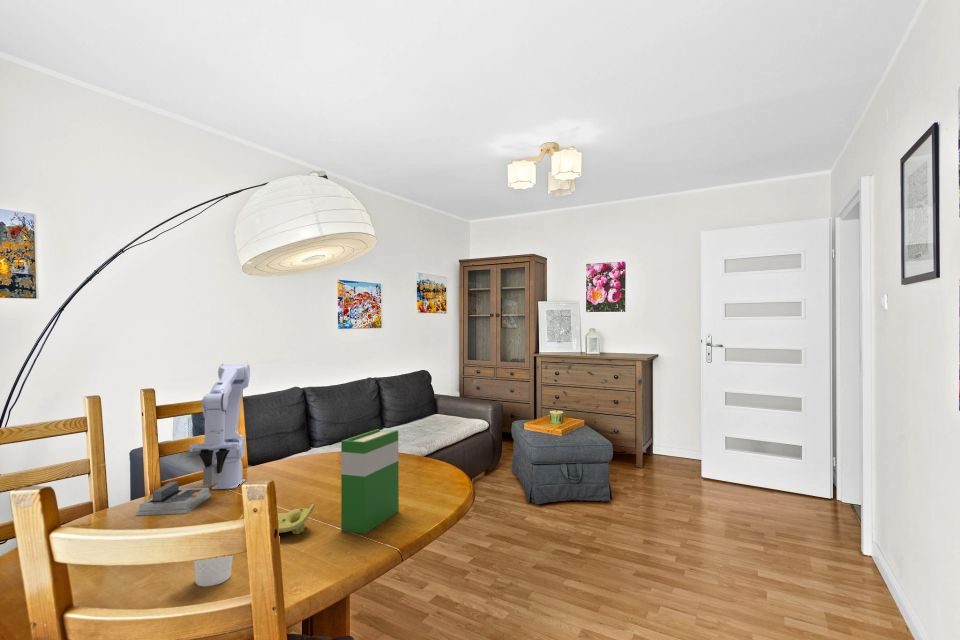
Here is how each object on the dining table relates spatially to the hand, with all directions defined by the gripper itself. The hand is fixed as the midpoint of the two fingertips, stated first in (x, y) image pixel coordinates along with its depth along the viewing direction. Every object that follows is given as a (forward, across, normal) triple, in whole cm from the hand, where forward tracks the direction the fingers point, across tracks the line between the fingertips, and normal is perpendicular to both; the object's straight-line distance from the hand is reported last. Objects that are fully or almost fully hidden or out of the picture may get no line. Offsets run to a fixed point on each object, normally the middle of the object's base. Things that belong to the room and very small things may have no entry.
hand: (214, 472), depth 156 cm
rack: (+9, -10, -3) cm, 14 cm away
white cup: (+9, +22, -54) cm, 59 cm away
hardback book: (+9, +52, -25) cm, 59 cm away
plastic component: (+9, +28, -29) cm, 42 cm away
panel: (+2, 0, 0) cm, 2 cm away
